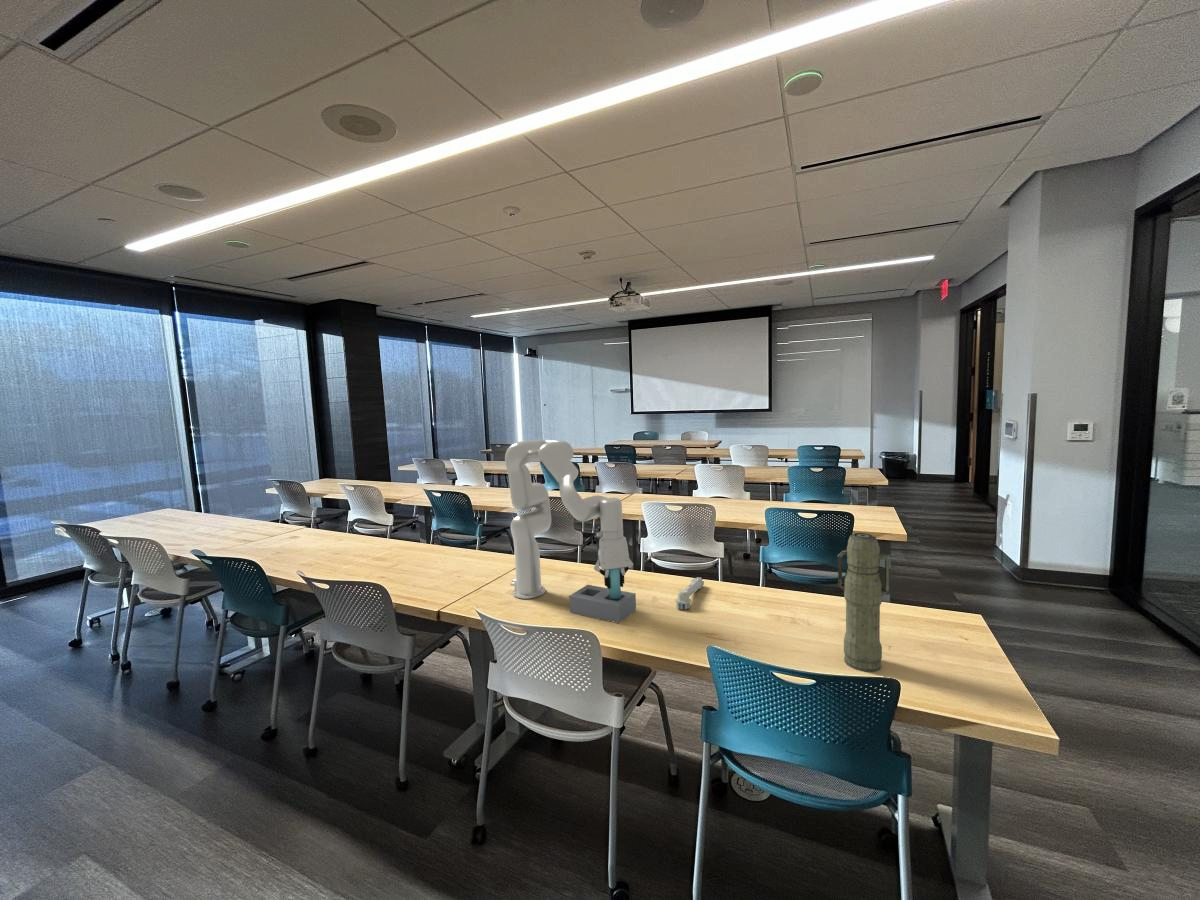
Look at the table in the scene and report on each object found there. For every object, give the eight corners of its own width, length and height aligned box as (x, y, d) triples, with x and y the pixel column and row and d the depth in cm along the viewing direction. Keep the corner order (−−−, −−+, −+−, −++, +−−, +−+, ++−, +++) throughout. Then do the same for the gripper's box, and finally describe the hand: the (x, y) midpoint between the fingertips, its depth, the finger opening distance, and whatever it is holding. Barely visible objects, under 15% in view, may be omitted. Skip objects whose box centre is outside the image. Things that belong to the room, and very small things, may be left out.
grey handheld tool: (705, 577, 188) (688, 591, 166) (705, 594, 188) (688, 610, 165) (692, 575, 190) (673, 589, 168) (692, 592, 190) (673, 608, 168)
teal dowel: (607, 598, 165) (605, 563, 164) (613, 594, 168) (611, 560, 168) (617, 599, 163) (615, 565, 162) (623, 595, 166) (621, 561, 165)
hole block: (569, 612, 169) (569, 595, 169) (588, 600, 179) (587, 584, 179) (619, 623, 159) (618, 606, 158) (636, 610, 169) (635, 593, 168)
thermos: (836, 651, 135) (836, 529, 132) (884, 658, 131) (885, 532, 128) (838, 667, 127) (838, 538, 124) (890, 675, 123) (891, 541, 120)
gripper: (590, 539, 159) (593, 593, 160) (638, 534, 162) (641, 587, 164) (585, 534, 166) (588, 586, 167) (632, 529, 170) (634, 580, 171)
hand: (614, 586), depth 166 cm, fingers closed on teal dowel, 4 cm apart
